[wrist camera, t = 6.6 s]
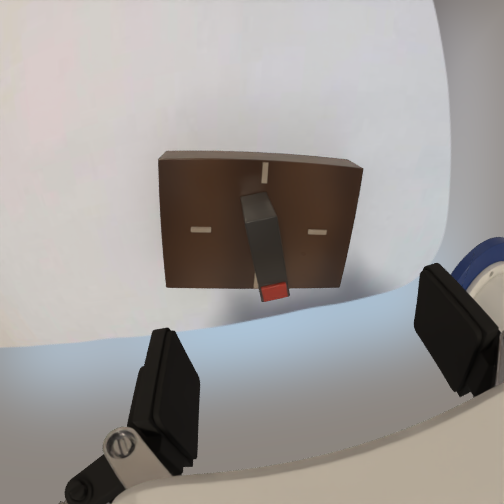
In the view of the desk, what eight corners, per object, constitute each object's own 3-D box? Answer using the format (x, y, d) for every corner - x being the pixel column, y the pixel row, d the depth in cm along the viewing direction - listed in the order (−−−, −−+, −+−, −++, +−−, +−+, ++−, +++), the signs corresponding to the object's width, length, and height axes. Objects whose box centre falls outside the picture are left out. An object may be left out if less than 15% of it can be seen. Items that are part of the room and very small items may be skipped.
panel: (348, 159, 23) (364, 168, 20) (329, 269, 28) (340, 288, 25) (166, 151, 22) (157, 159, 19) (171, 268, 26) (165, 289, 23)
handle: (239, 196, 21) (244, 224, 16) (266, 191, 21) (277, 217, 16) (254, 265, 23) (262, 304, 19) (278, 260, 23) (290, 298, 19)
